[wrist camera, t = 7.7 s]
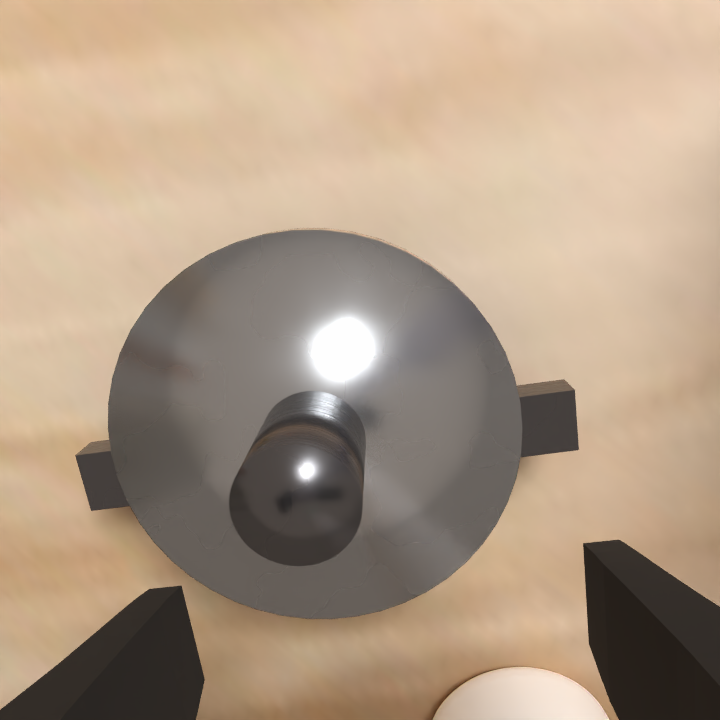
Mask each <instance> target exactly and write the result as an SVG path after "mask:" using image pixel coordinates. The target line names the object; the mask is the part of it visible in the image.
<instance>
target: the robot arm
mask: <svg viewBox="0 0 720 720" xmlns="http://www.w3.org/2000/svg"><path fill="white" fill-rule="evenodd" d="M583 547H584V564H585V582H586V599H587V617H588V634H589V645H590V648H591V650H592V653H593V656H594V659H595V662H596V665H597V667H598V670H599V673H600V676H601V679H602V681H603V684H604V687H605V689H606V692H607V695H608V697H609V700H610V702H611V704H612V706H613V708H614V711H615V713H616V715H617V717H618V719H619V720H720V607H719V606H718V605H716V604H714V603H713V602H711V601H710V600H708V599H707V598H705V597H704V596H702V595H700V594H699V593H697V592H696V591H694V590H693V589H691V588H690V587H688V586H687V585H685V584H684V583H682V582H681V581H679V580H678V579H676V578H675V577H673V576H672V575H671V574H669V573H668V572H666V571H665V570H663V569H662V568H660V567H659V566H657V565H656V564H655V563H653V562H652V561H650V560H649V559H647V558H646V557H644V556H643V555H642V554H640V553H639V552H637V551H636V550H634V549H633V548H631V547H630V546H628V545H627V544H625V543H624V542H622V541H620V540H612V541H602V542H593V543H583ZM204 680H205V679H204V675H203V671H202V667H201V663H200V659H199V655H198V651H197V647H196V643H195V639H194V635H193V631H192V627H191V623H190V619H189V615H188V611H187V606H186V602H185V598H184V594H183V590H182V586H175V587H165V588H155V589H149V590H147V591H146V592H145V593H143V594H142V595H140V596H139V597H138V598H137V599H135V600H134V601H133V602H132V603H130V604H129V605H128V606H127V607H125V608H124V609H123V610H122V611H121V612H119V613H118V614H117V615H116V616H115V617H113V618H112V619H111V620H110V621H109V622H108V623H106V624H105V625H104V626H103V627H102V628H100V629H99V630H98V631H97V632H96V633H95V634H93V635H92V636H91V637H90V638H89V639H87V640H86V641H85V642H84V643H83V644H82V645H80V646H79V647H78V648H77V649H76V650H74V651H73V652H72V653H71V654H70V655H68V656H67V657H66V658H65V659H64V660H63V661H61V662H60V663H59V664H58V665H57V666H55V667H54V668H53V669H52V670H50V671H49V672H48V673H47V674H45V675H44V676H43V677H41V678H40V679H39V680H38V681H36V682H35V683H34V684H33V685H31V686H30V687H29V688H27V689H26V690H25V691H24V692H22V693H21V694H20V695H19V696H17V697H16V698H15V699H13V700H12V701H11V702H10V703H8V704H7V705H6V706H5V707H3V708H2V709H1V710H0V720H196V716H197V712H198V708H199V703H200V698H201V694H202V689H203V684H204Z"/></svg>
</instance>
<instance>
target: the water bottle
mask: <svg viewBox="0 0 720 720" xmlns="http://www.w3.org/2000/svg"><path fill="white" fill-rule="evenodd" d="M433 720H609V718H608V716H607V714H606V713H605V711H604V710H603V708H602V707H601V705H600V704H599V702H598V701H597V700H596V699H595V698H594V697H593V696H592V695H591V694H590V693H589V692H588V691H587V690H586V689H585V688H584V687H582V686H581V685H579V684H578V683H576V682H575V681H573V680H571V679H569V678H567V677H565V676H563V675H561V674H558V673H555V672H552V671H549V670H545V669H540V668H533V667H509V668H502V669H497V670H493V671H489V672H486V673H483V674H481V675H478V676H476V677H474V678H472V679H470V680H468V681H467V682H465V683H464V684H462V685H461V686H459V687H458V688H457V689H455V690H454V691H453V692H452V693H451V694H450V695H449V696H448V697H447V698H446V699H445V700H444V701H443V703H442V704H441V705H440V707H439V708H438V710H437V712H436V713H435V715H434V718H433Z"/></svg>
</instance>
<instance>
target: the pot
mask: <svg viewBox="0 0 720 720" xmlns="http://www.w3.org/2000/svg"><path fill="white" fill-rule="evenodd" d="M517 390H518V394H519V399H520V405H521V417H522V445H521V456H520V457H526V456H534V455H542V454H550V453H558V452H566V451H574V450H579V447H578V432H577V417H576V402H575V390H574V389H573V388H572V387H571V386H570V385H569V384H568V383H567V382H566V381H565V380H557V381H549V382H542V383H534V384H526V385H519V386H517ZM75 456H76V460H77V463H78V467H79V470H80V473H81V477H82V480H83V484H84V487H85V491H86V494H87V498H88V501H89V505H90V508H91V511H93V510H101V509H109V508H117V507H125V506H130V505H129V503H128V502H127V499H126V497H125V495H124V492H123V490H122V487H121V485H120V482H119V480H118V477H117V474H116V470H115V466H114V462H113V458H112V455H111V448H110V440H104V441H97V442H91V443H89V444H88V445H87V446H86V447H85V448H84V449H82V450H81V451H80V452H79V453H78V454H77V455H75Z"/></svg>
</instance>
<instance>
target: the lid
mask: <svg viewBox="0 0 720 720" xmlns="http://www.w3.org/2000/svg"><path fill="white" fill-rule="evenodd" d="M108 432H109V440H110V448H111V455H112V458H113V462H114V466H115V470H116V474H117V477H118V480H119V482H120V485H121V487H122V490H123V492H124V495H125V497H126V499H127V502H128V503H129V505H130V507H131V509H132V510H133V512H134V514H135V516H136V517H137V519H138V521H139V523H140V524H141V525H142V527H143V528H144V529H145V531H146V532H147V533H148V535H149V536H150V537H151V539H152V540H153V541H154V543H155V544H156V545H157V546H158V547H159V548H160V549H161V550H162V551H163V552H164V553H165V554H166V555H167V556H168V557H169V558H170V559H171V561H173V562H174V563H175V564H176V565H177V566H179V567H180V568H181V569H182V570H184V571H185V572H186V573H187V574H188V575H190V576H191V577H192V578H194V579H195V580H197V581H198V582H200V583H202V584H203V585H205V586H206V587H208V588H209V589H211V590H213V591H215V592H217V593H219V594H221V595H223V596H225V597H227V598H229V599H231V600H233V601H235V602H238V603H240V604H243V605H246V606H249V607H252V608H254V609H257V610H261V611H265V612H269V613H273V614H278V615H282V616H289V617H297V618H306V619H336V618H346V617H355V616H360V615H365V614H369V613H374V612H378V611H382V610H385V609H388V608H391V607H394V606H397V605H399V604H402V603H405V602H407V601H409V600H411V599H413V598H415V597H417V596H419V595H421V594H423V593H425V592H427V591H429V590H430V589H432V588H433V587H435V586H436V585H438V584H439V583H441V582H442V581H444V580H446V579H447V578H448V577H449V576H451V575H452V574H453V573H454V572H455V571H456V570H458V569H459V568H460V567H461V566H462V565H464V564H465V563H466V562H467V561H468V560H469V559H470V557H471V556H472V555H473V554H474V553H475V552H476V551H477V550H478V549H479V548H480V547H481V545H482V544H483V543H484V541H485V540H486V539H487V537H488V536H489V534H490V533H491V531H492V530H493V528H494V527H495V526H496V524H497V522H498V520H499V518H500V516H501V514H502V512H503V511H504V509H505V507H506V505H507V503H508V500H509V497H510V494H511V492H512V489H513V486H514V483H515V480H516V476H517V471H518V466H519V461H520V456H521V445H522V417H521V405H520V399H519V394H518V390H517V386H516V381H515V377H514V374H513V372H512V369H511V366H510V364H509V361H508V358H507V356H506V353H505V351H504V349H503V347H502V345H501V344H500V342H499V340H498V338H497V336H496V335H495V333H494V331H493V329H492V327H491V326H490V325H489V323H488V322H487V321H486V319H485V318H484V317H483V315H482V314H481V313H480V311H479V310H478V309H477V307H476V306H475V305H474V304H473V302H472V301H471V300H470V299H469V298H468V297H467V296H466V295H465V294H464V293H463V292H462V291H461V290H460V289H459V288H458V287H457V286H456V285H455V284H454V283H453V282H452V281H451V280H450V279H449V278H448V277H446V276H445V275H444V274H442V273H441V272H440V271H439V270H437V269H436V268H435V267H433V266H432V265H431V264H429V263H428V262H426V261H425V260H423V259H421V258H419V257H418V256H416V255H414V254H412V253H411V252H409V251H407V250H405V249H403V248H401V247H398V246H396V245H393V244H391V243H389V242H386V241H384V240H381V239H379V238H375V237H371V236H367V235H363V234H360V233H356V232H352V231H343V230H335V229H327V228H297V229H290V230H283V231H276V232H270V233H266V234H263V235H259V236H256V237H252V238H249V239H245V240H242V241H239V242H236V243H233V244H231V245H229V246H226V247H224V248H222V249H220V250H217V251H215V252H213V253H211V254H209V255H207V256H205V257H204V258H202V259H201V260H199V261H197V262H196V263H194V264H193V265H191V266H189V267H188V268H186V269H185V270H183V271H182V272H181V273H180V274H179V275H178V276H176V277H175V278H174V279H173V280H172V281H170V282H169V283H168V284H167V285H166V286H164V287H163V289H162V290H161V291H160V292H159V293H158V294H157V295H156V296H155V298H154V299H153V300H152V301H151V302H150V303H149V304H148V305H147V307H146V308H145V309H144V311H143V312H142V314H141V315H140V317H139V318H138V320H137V321H136V323H135V324H134V326H133V327H132V329H131V331H130V333H129V335H128V337H127V339H126V341H125V344H124V346H123V348H122V350H121V352H120V355H119V358H118V361H117V364H116V368H115V371H114V374H113V378H112V384H111V390H110V396H109V403H108Z"/></svg>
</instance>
